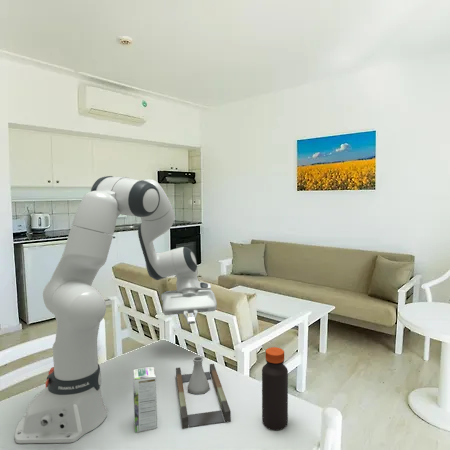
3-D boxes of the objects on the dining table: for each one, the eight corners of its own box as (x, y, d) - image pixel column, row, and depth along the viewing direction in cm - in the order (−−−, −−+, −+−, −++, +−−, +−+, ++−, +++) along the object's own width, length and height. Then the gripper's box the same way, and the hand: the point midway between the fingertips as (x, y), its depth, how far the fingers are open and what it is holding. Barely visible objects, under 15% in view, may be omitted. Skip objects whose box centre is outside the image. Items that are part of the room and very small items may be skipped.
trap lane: (182, 428, 93) (182, 417, 93) (176, 376, 120) (175, 367, 119) (230, 421, 96) (230, 411, 95) (213, 372, 122) (213, 363, 122)
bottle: (293, 425, 94) (293, 353, 92) (272, 434, 90) (272, 359, 89) (277, 411, 100) (277, 343, 98) (257, 419, 96) (256, 349, 94)
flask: (206, 396, 108) (206, 364, 107) (184, 393, 109) (183, 362, 108) (212, 383, 115) (211, 354, 114) (190, 381, 116) (190, 352, 115)
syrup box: (134, 419, 97) (131, 369, 96) (155, 415, 99) (154, 365, 97) (135, 433, 92) (133, 379, 90) (158, 428, 93) (156, 376, 92)
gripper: (160, 287, 133) (162, 321, 124) (214, 283, 137) (219, 317, 128) (161, 295, 137) (162, 329, 129) (212, 291, 141) (217, 324, 133)
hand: (191, 323), depth 129 cm, fingers closed
